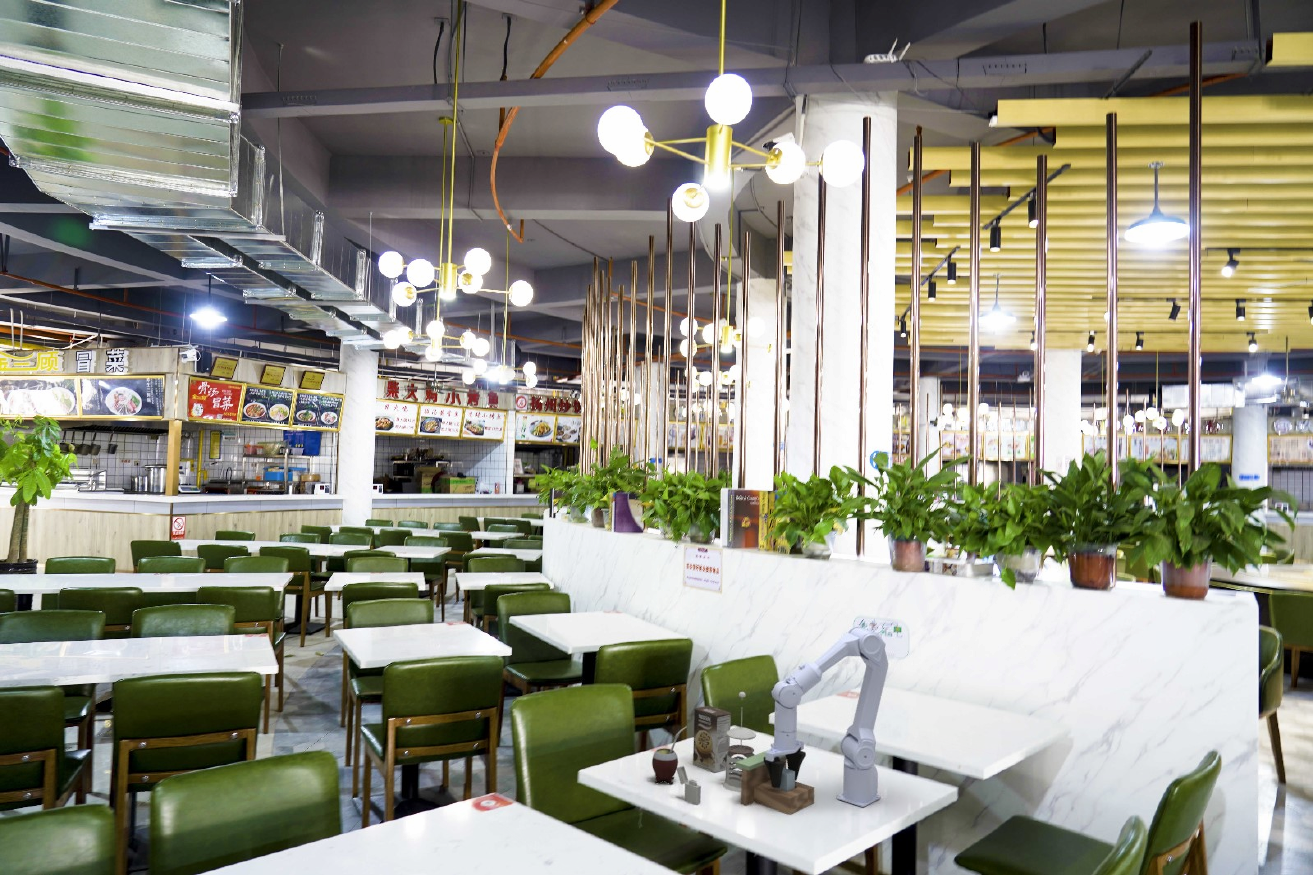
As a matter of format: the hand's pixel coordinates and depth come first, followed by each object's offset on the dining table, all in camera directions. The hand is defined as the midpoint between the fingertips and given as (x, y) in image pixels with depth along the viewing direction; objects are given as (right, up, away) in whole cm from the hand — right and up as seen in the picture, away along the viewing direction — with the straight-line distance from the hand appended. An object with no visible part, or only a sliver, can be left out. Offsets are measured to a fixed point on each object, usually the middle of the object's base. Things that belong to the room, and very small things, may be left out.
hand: (784, 783), depth 214 cm
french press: (-11, -5, +11) cm, 17 cm away
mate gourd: (-30, -5, +13) cm, 33 cm away
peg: (0, -4, 0) cm, 4 cm away
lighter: (-25, -4, 0) cm, 25 cm away
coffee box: (-17, -6, +25) cm, 31 cm away
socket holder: (-1, -5, +1) cm, 5 cm away
